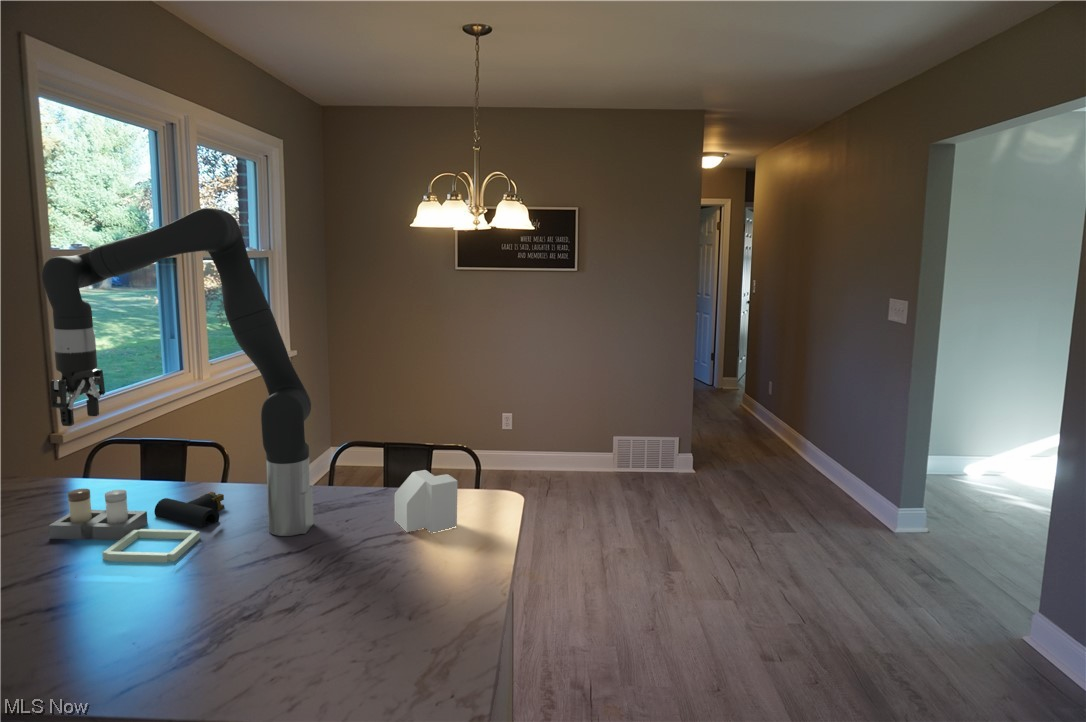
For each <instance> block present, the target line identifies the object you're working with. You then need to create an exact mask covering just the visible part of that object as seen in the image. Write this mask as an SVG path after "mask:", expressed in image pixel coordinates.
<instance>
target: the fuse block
mask: <svg viewBox="0 0 1086 722" xmlns="http://www.w3.org/2000/svg"><path fill="white" fill-rule="evenodd" d="M91 513H92V519H91V520H89V521H88V522H86V523H72V522H70V512H68V513H67V514H65V515H64V516H62V517H60V518H58V519H57V520H56V521H54V522H52V523H51V524H48V530H49V531H48V532H49V539H50V540H51V539H52V540H53V539H54V540H56V539H57V540H93V541H95V540H96V541H97V540H98V541H119V540H120V539H122V538H123V537H125V536H126V535H127V534H129V533H130V532H131V531H133V530H140V529H143V528H144V527H145V526H147V525H148V510H128V521H126V522H125V523H123V524H111V523H107V515H106V509H91Z"/></svg>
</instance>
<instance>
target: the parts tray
mask: <svg viewBox="0 0 1086 722" xmlns="http://www.w3.org/2000/svg"><path fill="white" fill-rule="evenodd" d="M138 538H140V539H166V540H167V539H172V540H173V539H177V540H183V541H181V542H180V543H179V544H178V545H177V546H176V547H175V548H173V549H172V550H171V551H170V552H157V551H156V552H149V551H145V552H143V551H122V550H124V549H125V548H127V547H128V546H129V545H130V544H133V542H135V541H136V540H137V539H138ZM200 539H201V531H198V530H197V531H196V530H195V529H165V528H164V529H161V528H160V529H159V528H141V529H140V530H133V531H131V532H130V533H129V534H127V535H126V536H125V537H123V538H122V539H120V540H117V541H116V542H115V543H113V544H112V545H110V547H108V548H106V549H105V550H104V551H102V560H106V561H107V562H124V563H126V562H129V563H130V562H131V563H132V562H133V563H134V562H135V563H163V564H164V563H166V564H167V563H168V562H175V561H177V560H178V559H179V558H180V557H181V556H182V555H183V556H182V557H181V559H179V560H178V561H177V562H176V563H175V564H174V566H176V565H177V564H178V563H180V561H181V560H182V559H184V558H185V557H186V556H187V555H189V553H191V552H192V549H190V548H191V547H192V546H194V545H195V543H196V545H195V546H194V547H193V549H195V548H196V547H197V546H198V545H199V544H200V543H201V541H199V540H200ZM198 541H199V542H198ZM197 542H198V543H197ZM189 549H190V551H188V550H189ZM187 551H188V552H187ZM185 552H187V553H186V554H185ZM184 554H185V555H184Z"/></svg>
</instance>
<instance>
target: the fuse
mask: <svg viewBox="0 0 1086 722" xmlns="http://www.w3.org/2000/svg"><path fill="white" fill-rule="evenodd" d="M127 494H128V493H127V490H126V489H113V490H109V491H107V492H105V493H104V501H105V510H106V515H107V523H111V524H123V523H125V522H126V521H128V511H129V510H128V497H127Z"/></svg>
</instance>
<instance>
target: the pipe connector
mask: <svg viewBox="0 0 1086 722" xmlns="http://www.w3.org/2000/svg"><path fill="white" fill-rule="evenodd" d="M224 496H225V495H224V493H223V494H222V493H218V494H216V492H214V491H210V492H208V493H205V494H203V495H201V496H200V497H197V498H195V499H193V500H191V501H188V502H185V501H181V500H177V499H172V498H168V497H165V498H162V499H160V500H159V501H158V502H157V503H156V505H155V507H154V516H155V518H160V519H164V520H168V521H171V522H176V523H180V524H182V525H187V526H191V527H195V528H198V529H205V528H207V527H209V526H208V525H207V524H206V523H209V524H210V525H211V524H212V525H215V524H217V523H219V521H220V513H219V511H221V510H223V509H224V508H225V504H223V503H222V501H224V500H225V497H224Z"/></svg>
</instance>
